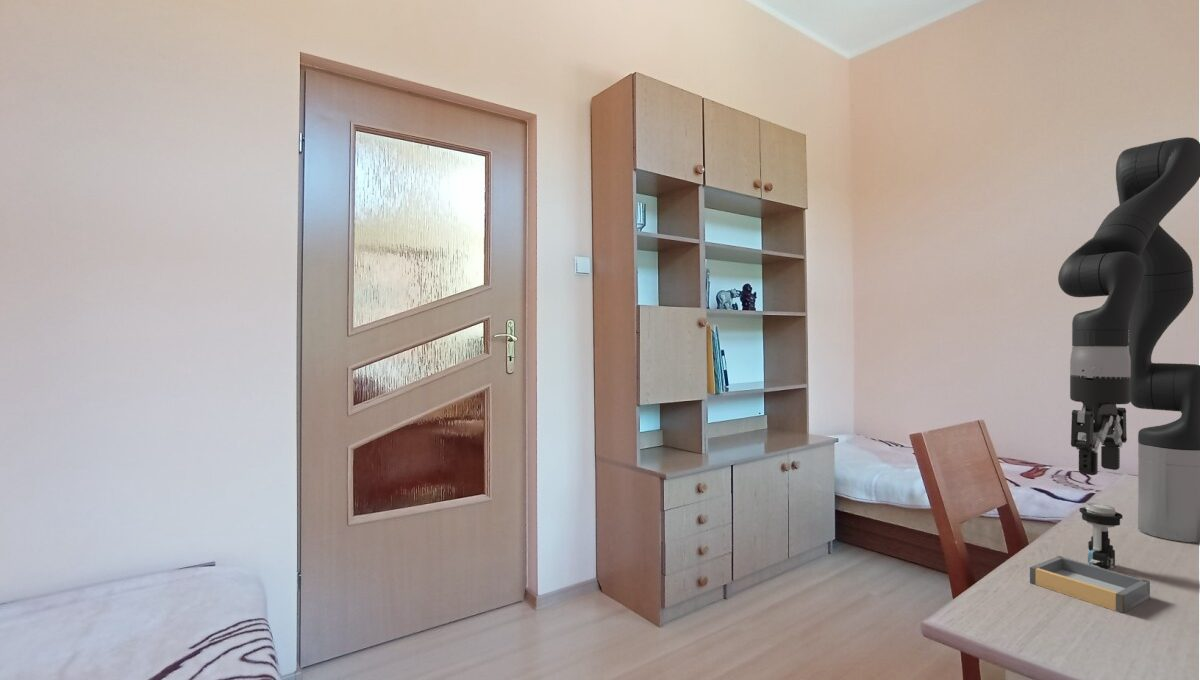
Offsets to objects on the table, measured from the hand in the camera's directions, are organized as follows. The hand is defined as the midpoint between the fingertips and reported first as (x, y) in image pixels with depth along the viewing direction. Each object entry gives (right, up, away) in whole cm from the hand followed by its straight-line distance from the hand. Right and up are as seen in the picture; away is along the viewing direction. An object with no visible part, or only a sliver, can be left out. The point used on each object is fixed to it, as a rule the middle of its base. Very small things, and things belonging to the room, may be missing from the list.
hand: (1099, 471), depth 92 cm
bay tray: (-9, -16, -9) cm, 20 cm away
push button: (0, -16, 0) cm, 16 cm away
